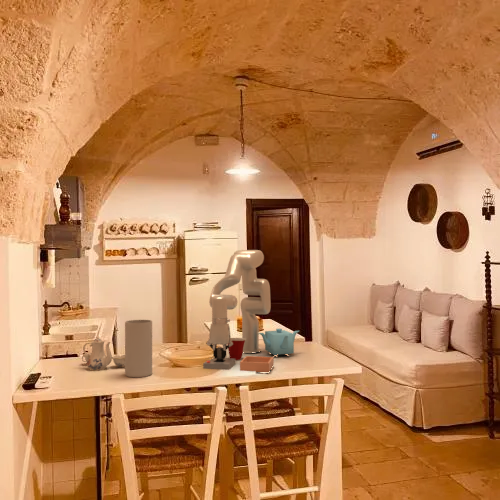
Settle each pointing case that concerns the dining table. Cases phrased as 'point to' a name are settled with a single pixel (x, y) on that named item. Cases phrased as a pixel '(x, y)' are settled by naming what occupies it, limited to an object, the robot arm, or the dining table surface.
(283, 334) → the teakettle
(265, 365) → the bin
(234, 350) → the plastic cup
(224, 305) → the robot arm
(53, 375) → the dining table surface
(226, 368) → the block
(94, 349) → the chinaware
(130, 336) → the cylinder vase
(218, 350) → the battery cell
